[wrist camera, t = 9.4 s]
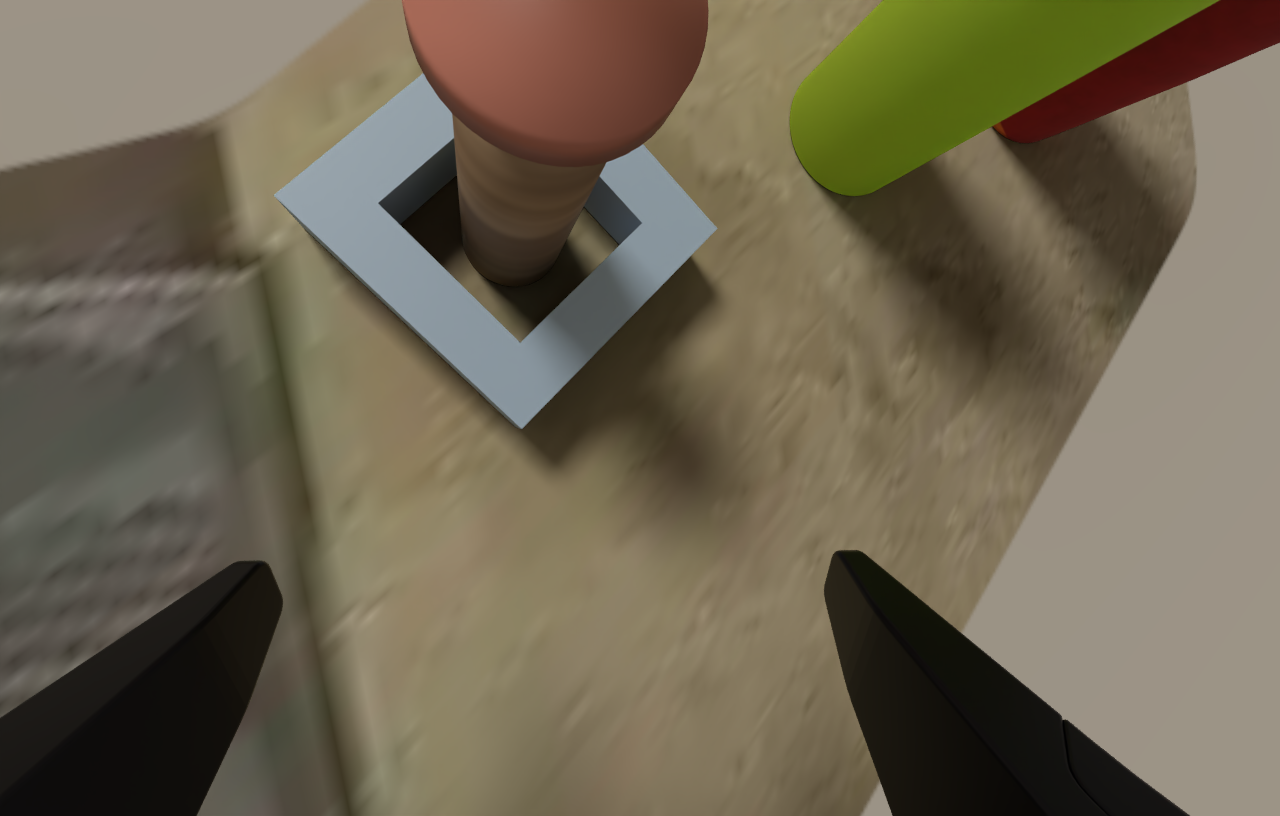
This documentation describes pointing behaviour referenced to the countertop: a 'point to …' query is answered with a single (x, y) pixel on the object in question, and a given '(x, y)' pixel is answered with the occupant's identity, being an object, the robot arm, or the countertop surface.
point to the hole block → (435, 301)
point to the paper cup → (1152, 67)
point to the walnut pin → (547, 107)
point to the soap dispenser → (952, 76)
